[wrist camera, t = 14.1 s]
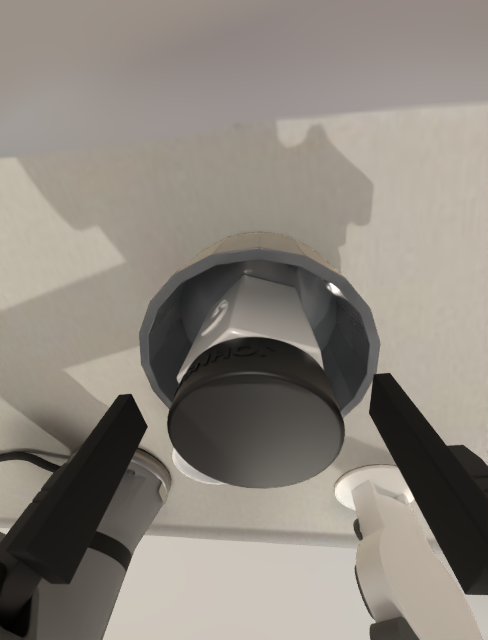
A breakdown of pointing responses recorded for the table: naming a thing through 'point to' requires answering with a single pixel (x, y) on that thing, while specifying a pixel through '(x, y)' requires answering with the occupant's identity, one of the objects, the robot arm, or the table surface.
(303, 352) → the jar
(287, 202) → the table surface
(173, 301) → the grey round bowl
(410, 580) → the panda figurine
